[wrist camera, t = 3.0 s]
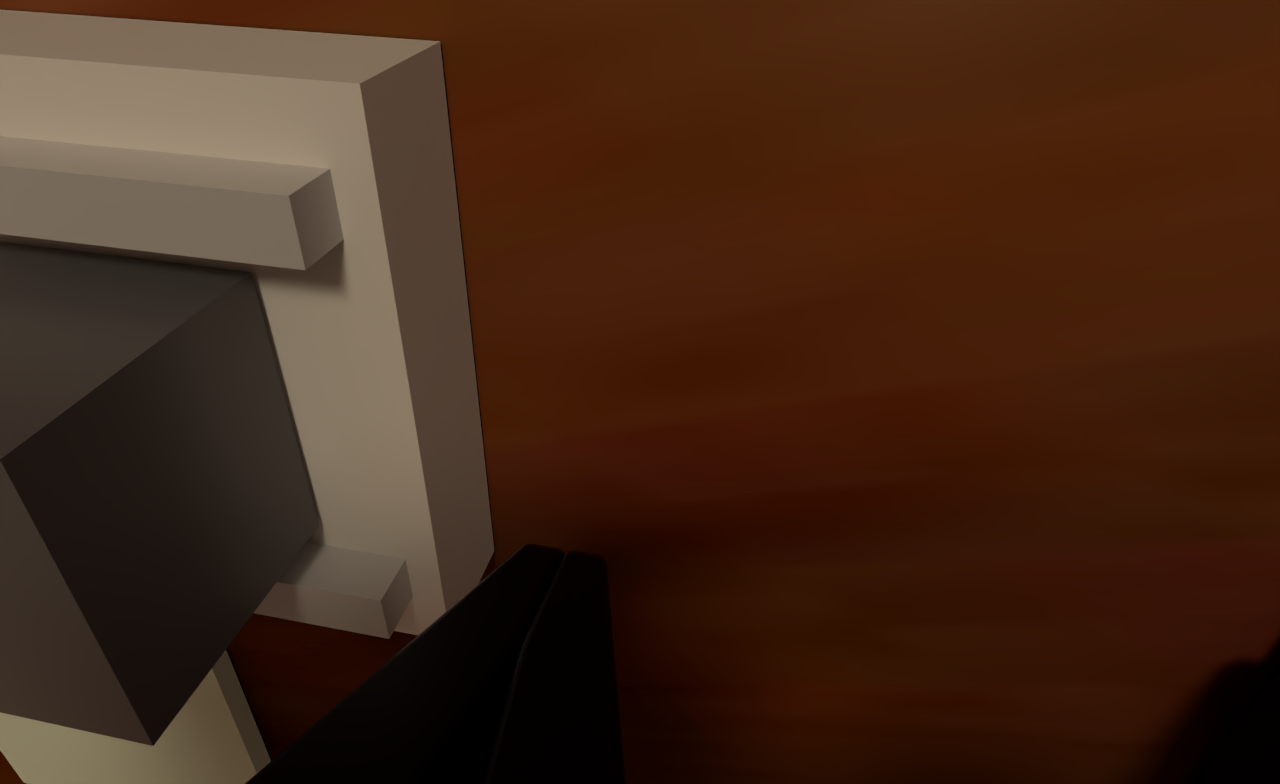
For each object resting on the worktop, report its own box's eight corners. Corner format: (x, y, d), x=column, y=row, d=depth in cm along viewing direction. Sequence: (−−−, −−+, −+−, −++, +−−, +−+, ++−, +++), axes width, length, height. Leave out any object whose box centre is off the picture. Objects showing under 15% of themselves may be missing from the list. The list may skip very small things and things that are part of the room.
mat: (217, 628, 18) (202, 647, 17) (297, 825, 22) (287, 844, 22) (-99, 567, 19) (-120, 584, 18) (37, 765, 23) (23, 782, 23)
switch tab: (250, 272, 10) (0, 459, 7) (319, 525, 12) (153, 746, 9) (-18, 239, 10) (-355, 399, 7) (97, 488, 12) (-127, 685, 9)
